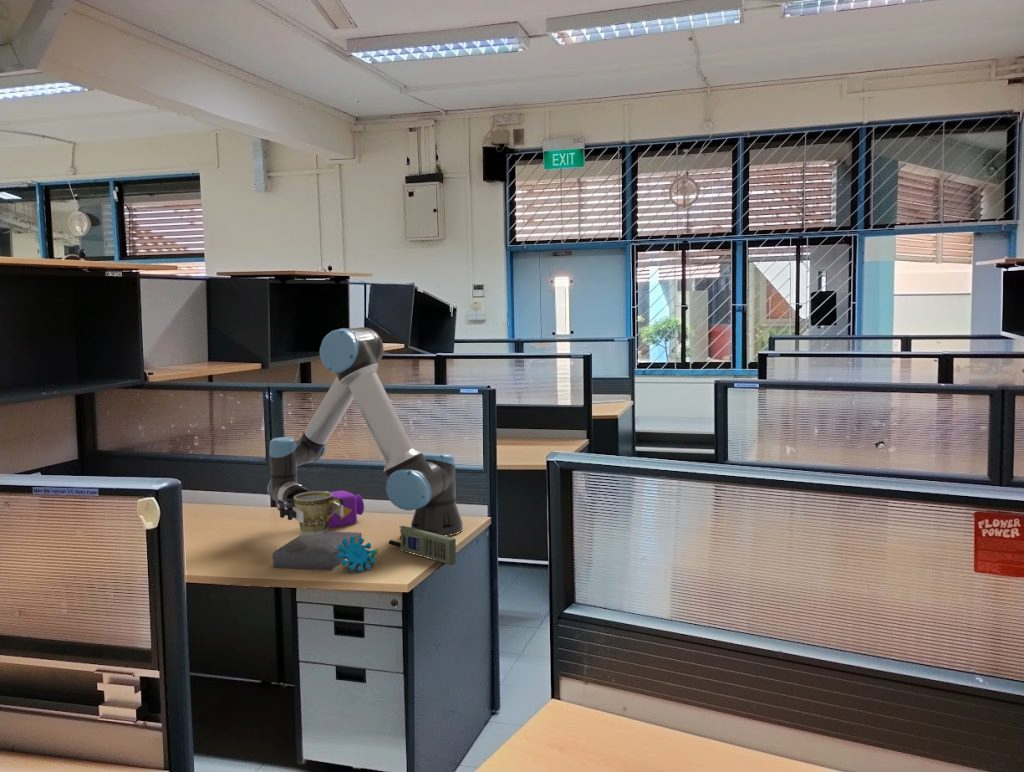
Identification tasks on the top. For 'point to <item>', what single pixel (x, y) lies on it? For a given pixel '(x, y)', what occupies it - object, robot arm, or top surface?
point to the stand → (313, 551)
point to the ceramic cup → (315, 511)
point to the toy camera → (346, 509)
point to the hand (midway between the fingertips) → (322, 514)
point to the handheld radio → (427, 544)
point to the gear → (357, 554)
